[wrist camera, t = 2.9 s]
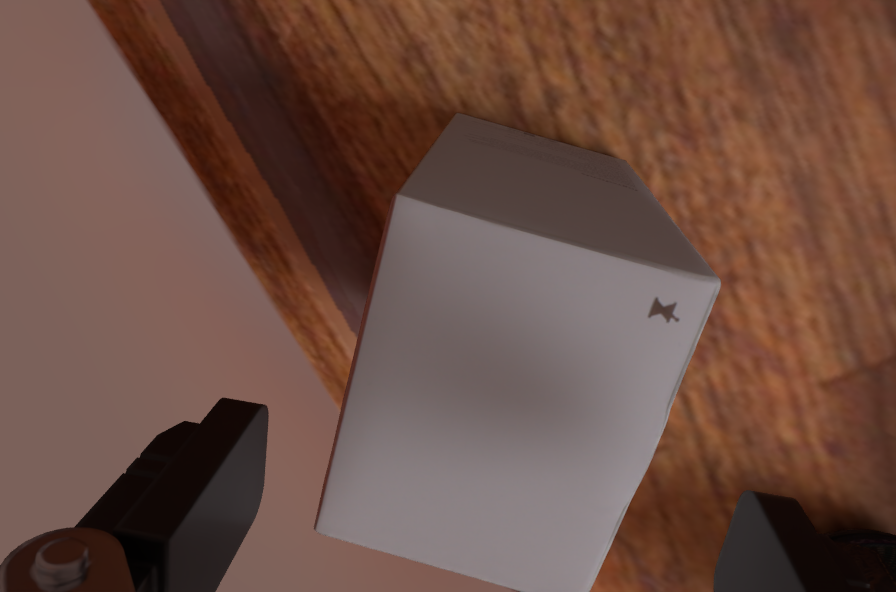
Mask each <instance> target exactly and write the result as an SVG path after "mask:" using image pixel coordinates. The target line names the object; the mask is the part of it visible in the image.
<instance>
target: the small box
mask: <svg viewBox="0 0 896 592" xmlns="http://www.w3.org/2000/svg"><path fill="white" fill-rule="evenodd" d="M720 285H721V280H720V279H719V278H718V276H717V275H716V274H715V273H714V271H713V270H712V269H711V268H710V266H709V265H708V264H707V263H706V261H705V260H704V259H703V258H702V256H701V255H700V254H699V253H698V251H697V250H696V249H695V248H694V246H693V245H692V244H691V243H690V241H689V240H688V239H687V238H686V236H685V235H684V234H683V233H682V231H681V230H680V229H679V227H678V226H677V225H676V224H675V222H674V221H673V220H672V219H671V217H670V216H669V215H668V214H667V212H666V211H665V210H664V208H663V207H662V206H661V205H660V203H659V202H658V201H657V200H656V198H655V197H654V195H653V194H652V193H651V192H650V190H649V189H648V188H647V186H646V185H645V184H644V183H643V181H642V180H641V179H640V178H639V176H638V175H637V174H636V173H635V172H634V170H633V169H632V168H631V167H630V165H629V164H628V163H627V161H625V160H622V159H618V158H614V157H611V156H607V155H604V154H601V153H597V152H594V151H590V150H586V149H583V148H579V147H576V146H572V145H569V144H565V143H562V142H558V141H555V140H551V139H548V138H544V137H541V136H537V135H534V134H530V133H527V132H523V131H520V130H516V129H513V128H510V127H506V126H503V125H499V124H496V123H493V122H489V121H485V120H482V119H478V118H475V117H471V116H468V115H464V114H461V113H456V114H455V115H454V116H453V117H452V119H451V120H450V121H449V123H448V124H447V126H446V127H445V129H444V130H443V131H442V133H441V134H440V135H439V137H438V138H437V139H436V140H435V142H434V143H433V144H432V146H431V147H430V149H429V150H428V151H427V153H426V154H425V156H424V157H423V158H422V159H421V161H420V162H419V163H418V165H417V166H416V168H415V169H414V170H413V172H412V173H411V174H410V176H409V177H408V178H407V180H406V181H405V182H404V183H403V184H402V186H401V187H400V188H399V189H398V190H397V192H396V193H395V194H394V195H393V197H392V200H391V203H390V207H389V210H388V214H387V218H386V222H385V226H384V230H383V235H382V239H381V243H380V247H379V251H378V255H377V259H376V264H375V268H374V272H373V276H372V280H371V284H370V288H369V293H368V297H367V301H366V305H365V309H364V313H363V318H362V322H361V326H360V331H359V335H358V339H357V344H356V348H355V352H354V356H353V361H352V365H351V369H350V374H349V378H348V382H347V386H346V390H345V394H344V398H343V403H342V407H341V412H340V416H339V421H338V425H337V430H336V434H335V439H334V443H333V448H332V452H331V456H330V460H329V465H328V468H327V472H326V476H325V480H324V484H323V489H322V494H321V498H320V503H319V507H318V512H317V516H316V520H315V525H314V530H315V531H316V532H318V533H320V534H322V535H325V536H329V537H333V538H336V539H340V540H343V541H347V542H351V543H354V544H357V545H360V546H364V547H368V548H371V549H375V550H379V551H382V552H386V553H389V554H393V555H396V556H399V557H403V558H406V559H410V560H414V561H417V562H420V563H424V564H427V565H431V566H434V567H438V568H441V569H445V570H448V571H452V572H456V573H459V574H462V575H466V576H469V577H473V578H476V579H480V580H483V581H487V582H491V583H494V584H497V585H500V586H504V587H507V588H511V589H514V590H517V591H521V592H590V590H591V587H592V585H593V583H594V581H595V579H596V577H597V575H598V573H599V570H600V568H601V566H602V564H603V562H604V559H605V557H606V555H607V553H608V551H609V549H610V547H611V544H612V542H613V540H614V537H615V535H616V533H617V530H618V528H619V526H620V524H621V522H622V519H623V517H624V515H625V513H626V511H627V508H628V506H629V503H630V501H631V499H632V497H633V496H634V494H635V492H636V490H637V488H638V486H639V484H640V482H641V480H642V478H643V476H644V475H645V473H646V471H647V469H648V466H649V464H650V462H651V460H652V457H653V455H654V452H655V450H656V448H657V445H658V442H659V440H660V437H661V435H662V433H663V430H664V428H665V425H666V423H667V420H668V416H669V413H670V409H671V407H672V404H673V401H674V398H675V396H676V393H677V391H678V388H679V386H680V384H681V381H682V379H683V376H684V374H685V371H686V369H687V366H688V364H689V362H690V360H691V357H692V355H693V353H694V350H695V347H696V345H697V342H698V340H699V337H700V334H701V332H702V330H703V328H704V325H705V323H706V321H707V319H708V316H709V314H710V311H711V309H712V307H713V304H714V302H715V300H716V297H717V295H718V293H719V289H720Z"/></svg>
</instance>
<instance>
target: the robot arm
mask: <svg viewBox="0 0 896 592" xmlns="http://www.w3.org/2000/svg"><path fill="white" fill-rule="evenodd" d="M267 432H268V408H267V406H266V405H263V404H257V403H252V402H246V401H240V400H234V399H229V398H221V399H220V400H219V401H218V402H217V403H216V405H215V406H214V407H213V408H212V409H211V411H210V412H209V413H208V414H207V416H206V417H205V418H204V419H203V420H202V422H201V423H200V424H199V423H192V422H188V421H184V422H182V423H179V424H178V425H176V426H174V427H172V428H170V429H168V430H166V431H164V432H162V433H160V434H159V435H157V436H156V437H155V438H154V440H153V441H152V442H151V443H150V444H149V445H148V446H147V447H146V449H144V451H143V452H142V453H141V455H140V458H136V459H135V461H134V462H133V463H132V464H131V465H130V466H129V467H128V468H127V471H126V473H125V474H124V473H123V474H122V475H121V476H120V477H119V478H118V479H117V481H116V482H115V483H114V484H113V485H112V486H111V487H110V488H109V489H108V490H107V492H106V493H105V494H104V495H103V496H102V497H101V498H100V499H99V500H98V502H97V503H96V504H95V505H94V506H93V507H92V508H91V509H90V510H89V512H88V513H87V514H86V515H85V516H84V517H83V518H82V519H81V520H80V522H79V523H78V524H77V525H76V526H75V527H74V528H64V529H58V530H54V531H50V532H46V533H44V534H41V535H39V536H36V537H34V538H32V539H30V540H28V541H26V542H24V543H23V544H21V545H20V546H18V547H17V548H16V549H15V550H13V551H12V552H11V553H10V554H9V555H8V556H7V557H6V558H5V559H4V561H3V563H2V564H1V565H0V592H215V591H216V590H217V588H218V586H219V584H220V582H221V580H222V578H223V577H224V575H225V573H226V571H227V569H228V567H229V565H230V564H231V562H232V560H233V558H234V556H235V555H236V552H237V551H238V549H239V547H240V545H241V543H242V542H243V539H244V538H245V536H246V534H247V532H248V530H249V529H250V526H251V525H252V523H253V521H254V519H255V517H256V514H257V512H258V509H259V505H260V502H261V498H262V493H263V487H264V476H265V461H266V447H267ZM714 592H875V591H874V590H873V589H870V583H869V582H868V580H867V579H866V577H865V576H864V574H863V573H862V571H861V570H860V568H859V567H858V565H857V564H856V562H855V560H854V559H853V558H852V557H851V556H850V555H848V554H847V553H846V552H845V551H844V550H843V549H842V548H841V547H839V546H838V545H837V544H836V543H835V542H834V541H833V540H832V539H830V538H829V537H828V536H827V535H825V534H819V533H817V531H816V530H815V528H814V527H813V525H812V523H811V522H810V520H809V518H808V517H807V515H806V513H805V512H804V510H803V509H802V507H801V505H800V504H799V502H798V501H797V500H796V499H794V498H791V497H785V496H779V495H774V494H768V493H762V492H756V491H751V490H746V491H744V492H743V493H742V495H741V496H740V498H739V500H738V502H737V505H736V508H735V511H734V514H733V517H732V520H731V523H730V525H729V528H728V531H727V534H726V537H725V540H724V543H723V546H722V549H721V552H720V555H719V558H718V561H717V564H716V568H715V573H714Z"/></svg>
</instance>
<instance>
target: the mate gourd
mask: <svg viewBox="0 0 896 592" xmlns="http://www.w3.org/2000/svg"><path fill="white" fill-rule="evenodd" d="M825 535H827V536H828V537H829V538H830V539H832V540H833V541H834V542H835V543H836V544H837V545H838V546H839V547H841V548H842V549H843V550H844V551H845V552H846V553H847V554H848V555H850V556H851V557H852V558H853V559H854V560H855V562H856V564H857V565H858V567H859V568H860V570H861V571H862V573H863V574H864V576H865V577H866V579H867V580H868V582H869V583H870V589H873V590H874V591H875V592H896V535H893V534H890V533H885V532H881V531H876V530H866V529H852V530H842V531H837V532H832V533H827V534H825Z"/></svg>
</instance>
